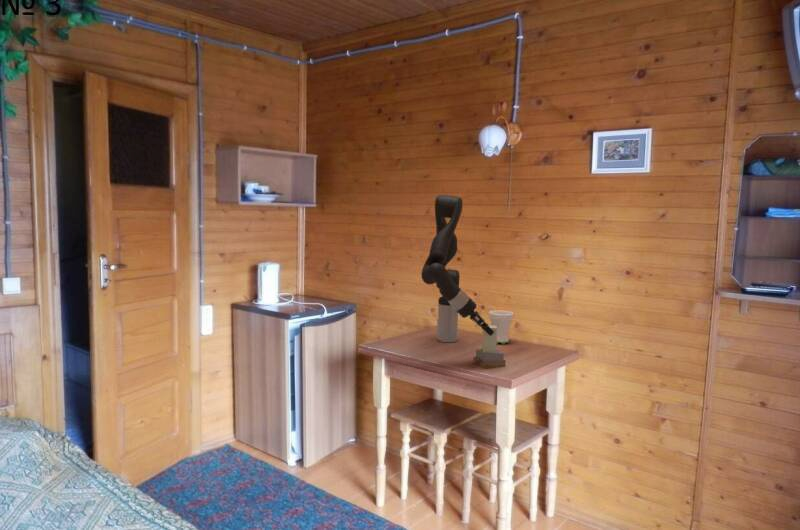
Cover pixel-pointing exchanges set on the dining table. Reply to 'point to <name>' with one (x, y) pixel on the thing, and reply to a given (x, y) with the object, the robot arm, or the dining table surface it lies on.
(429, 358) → the dining table surface
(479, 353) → the charcoal slab
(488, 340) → the sage pillar
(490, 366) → the walnut slab
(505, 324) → the cup
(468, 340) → the dining table surface
